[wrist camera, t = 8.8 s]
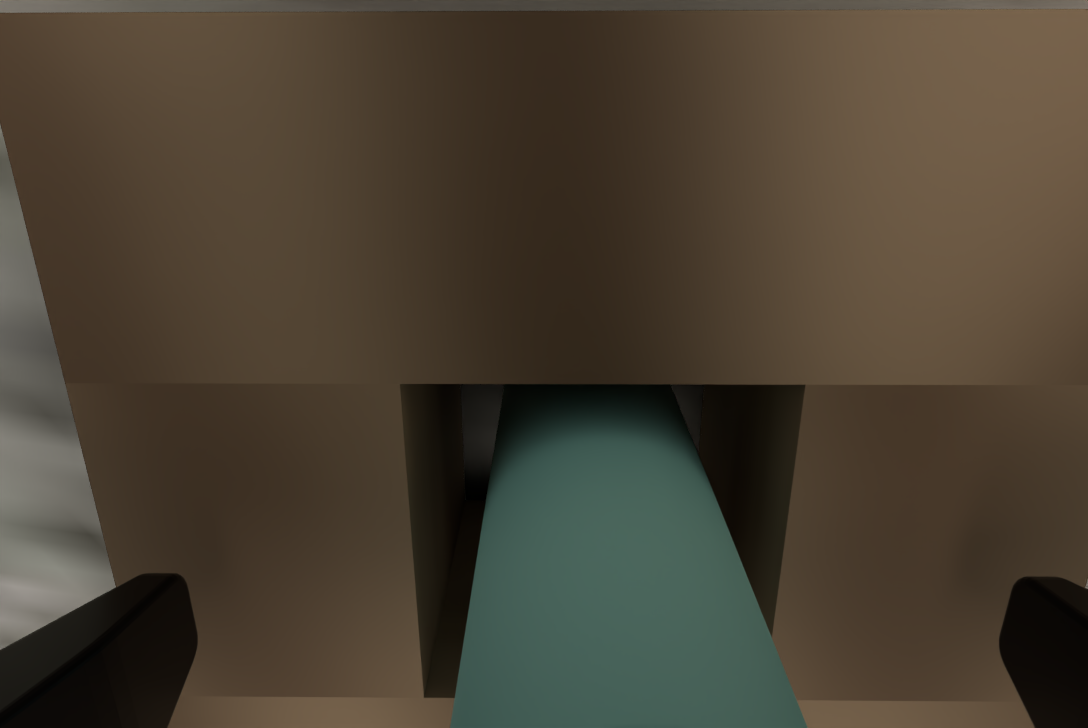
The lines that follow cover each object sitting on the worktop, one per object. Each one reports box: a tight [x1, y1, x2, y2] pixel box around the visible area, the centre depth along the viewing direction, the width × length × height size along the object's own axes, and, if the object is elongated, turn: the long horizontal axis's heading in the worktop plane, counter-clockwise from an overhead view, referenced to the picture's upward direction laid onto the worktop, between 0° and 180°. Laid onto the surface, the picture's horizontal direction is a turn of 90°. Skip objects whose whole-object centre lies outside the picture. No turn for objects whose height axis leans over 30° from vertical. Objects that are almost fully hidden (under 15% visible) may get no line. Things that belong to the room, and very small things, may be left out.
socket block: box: [0, 9, 1088, 728], centre depth 11 cm, size 12×12×5 cm
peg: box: [450, 384, 808, 728], centre depth 9 cm, size 3×3×9 cm
